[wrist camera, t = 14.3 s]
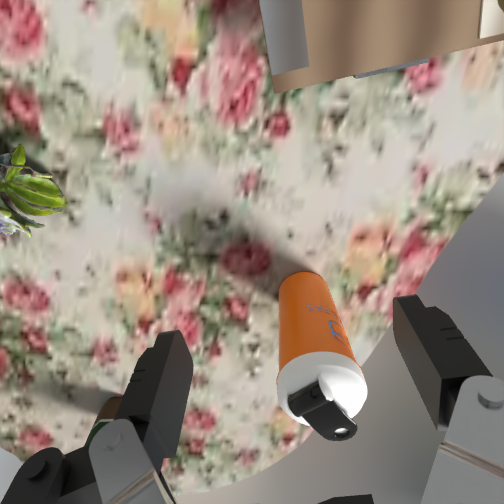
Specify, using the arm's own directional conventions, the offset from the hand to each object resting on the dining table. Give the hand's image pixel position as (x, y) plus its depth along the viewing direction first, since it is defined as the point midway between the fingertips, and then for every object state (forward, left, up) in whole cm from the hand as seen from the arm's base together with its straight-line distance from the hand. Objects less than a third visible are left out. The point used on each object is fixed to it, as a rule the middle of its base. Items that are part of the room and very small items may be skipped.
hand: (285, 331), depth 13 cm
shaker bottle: (+21, +1, -30) cm, 37 cm away
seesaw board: (-10, +14, -24) cm, 29 cm away
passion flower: (-3, -31, -30) cm, 43 cm away
